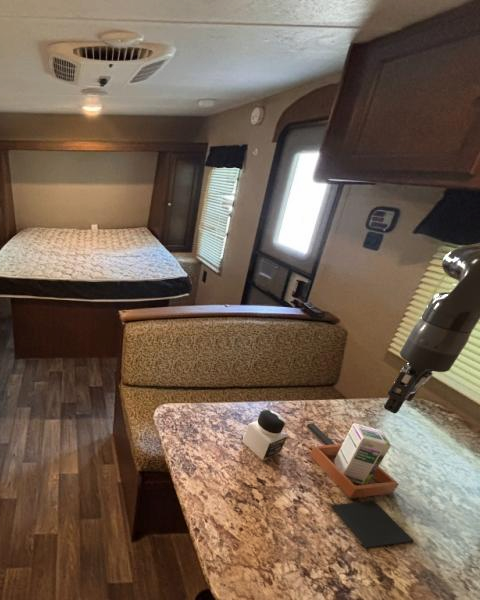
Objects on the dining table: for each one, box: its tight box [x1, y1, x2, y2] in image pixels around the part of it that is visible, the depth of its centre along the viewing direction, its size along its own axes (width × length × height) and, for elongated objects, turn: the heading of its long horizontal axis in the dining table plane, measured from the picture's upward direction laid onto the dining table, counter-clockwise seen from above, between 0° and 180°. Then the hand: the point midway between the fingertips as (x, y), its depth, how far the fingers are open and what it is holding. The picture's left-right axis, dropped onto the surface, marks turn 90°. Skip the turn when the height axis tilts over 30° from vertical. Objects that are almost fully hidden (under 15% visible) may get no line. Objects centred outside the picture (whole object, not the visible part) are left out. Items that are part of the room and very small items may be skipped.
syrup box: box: [333, 422, 392, 485], centre depth 81 cm, size 6×6×14 cm
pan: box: [306, 422, 399, 499], centre depth 87 cm, size 13×21×4 cm, turn 8°
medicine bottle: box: [242, 409, 288, 462], centre depth 88 cm, size 7×7×12 cm
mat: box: [330, 499, 414, 549], centre depth 72 cm, size 12×9×1 cm
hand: (397, 404), depth 71 cm, fingers open, 8 cm apart
